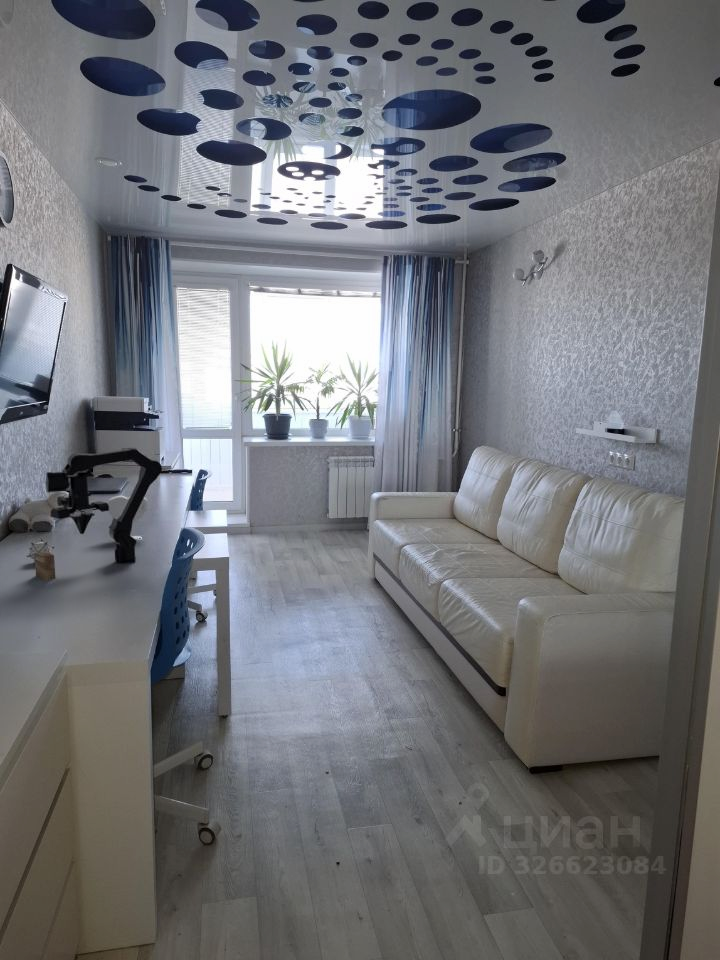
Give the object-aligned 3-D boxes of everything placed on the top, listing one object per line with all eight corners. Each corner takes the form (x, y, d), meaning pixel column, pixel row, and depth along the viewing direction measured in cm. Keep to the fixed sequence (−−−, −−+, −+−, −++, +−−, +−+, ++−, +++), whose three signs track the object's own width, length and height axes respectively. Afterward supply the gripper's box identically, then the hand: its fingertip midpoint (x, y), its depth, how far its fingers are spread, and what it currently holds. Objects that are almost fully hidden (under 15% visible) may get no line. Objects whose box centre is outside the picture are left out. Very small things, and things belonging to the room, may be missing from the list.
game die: (37, 574, 231) (17, 555, 225) (41, 559, 238) (22, 541, 232) (59, 562, 230) (39, 543, 225) (62, 548, 237) (43, 529, 232)
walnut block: (44, 574, 219) (43, 551, 217) (55, 578, 214) (54, 554, 213) (35, 576, 216) (34, 553, 215) (46, 580, 212) (44, 556, 211)
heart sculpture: (108, 541, 263) (106, 497, 261) (109, 538, 268) (107, 495, 265) (148, 538, 268) (147, 496, 265) (148, 536, 273) (147, 494, 270)
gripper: (91, 484, 235) (93, 526, 237) (41, 490, 220) (43, 535, 223) (109, 487, 228) (111, 530, 231) (57, 494, 214) (60, 540, 216)
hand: (81, 533), depth 225 cm, fingers closed
